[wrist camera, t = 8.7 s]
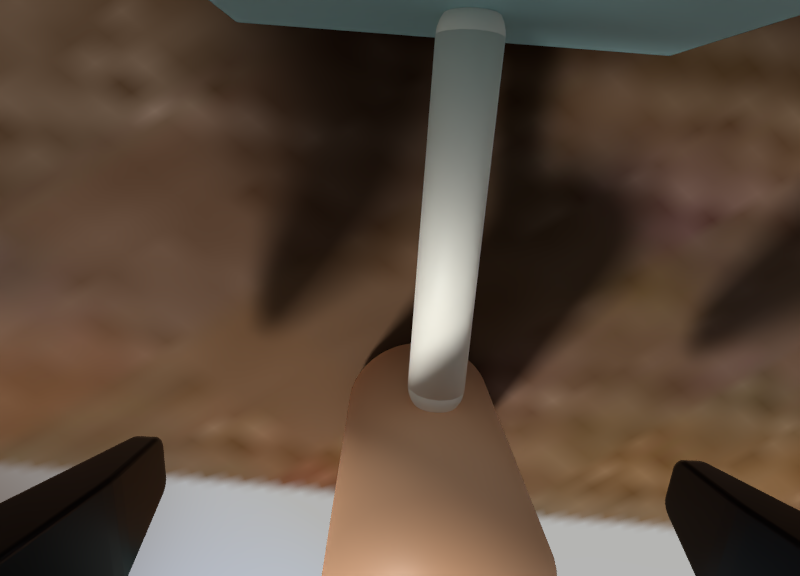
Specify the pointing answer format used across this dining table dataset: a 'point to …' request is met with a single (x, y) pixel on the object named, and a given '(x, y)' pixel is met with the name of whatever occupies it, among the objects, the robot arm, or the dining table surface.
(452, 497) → the lever with tan knob
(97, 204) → the dining table surface
